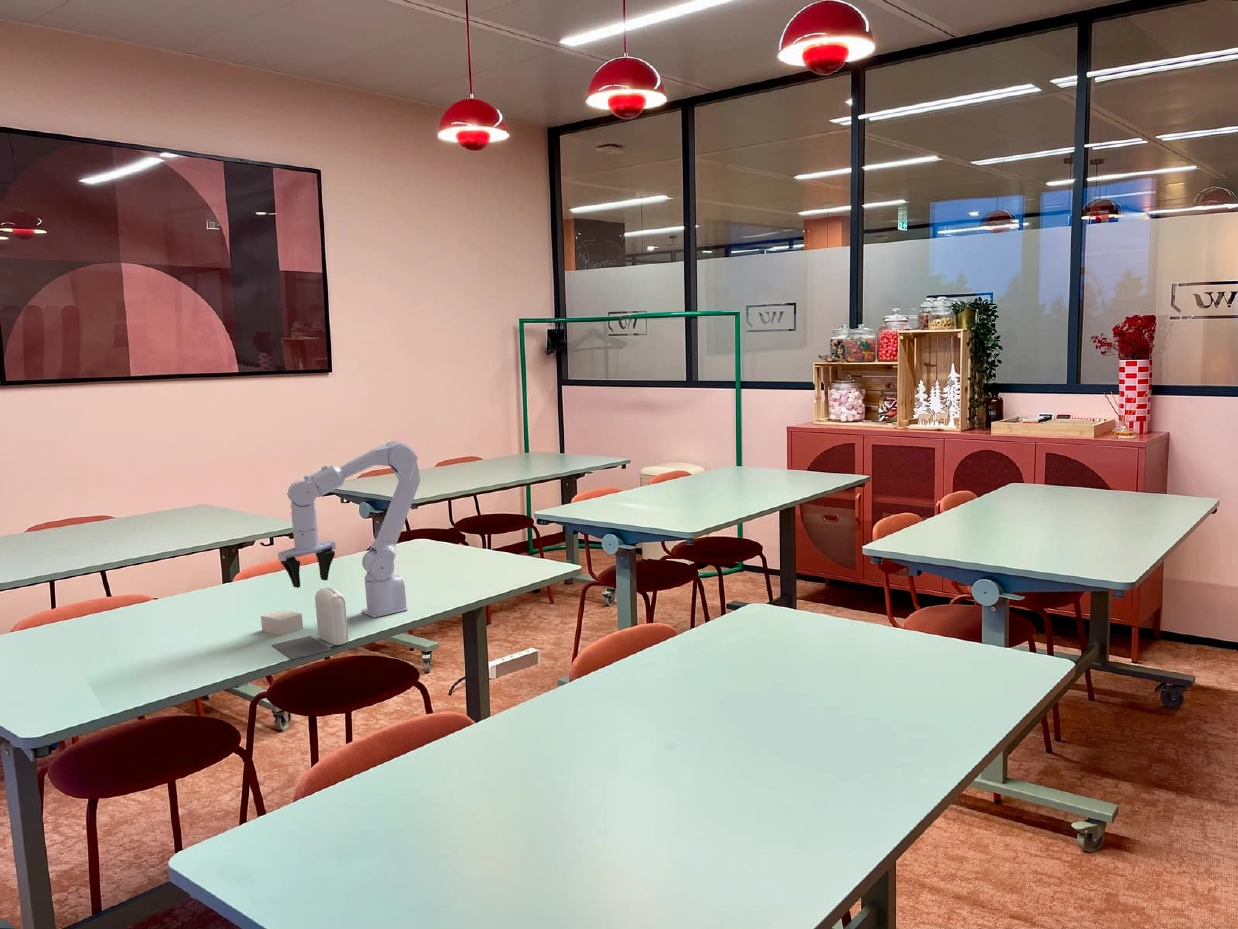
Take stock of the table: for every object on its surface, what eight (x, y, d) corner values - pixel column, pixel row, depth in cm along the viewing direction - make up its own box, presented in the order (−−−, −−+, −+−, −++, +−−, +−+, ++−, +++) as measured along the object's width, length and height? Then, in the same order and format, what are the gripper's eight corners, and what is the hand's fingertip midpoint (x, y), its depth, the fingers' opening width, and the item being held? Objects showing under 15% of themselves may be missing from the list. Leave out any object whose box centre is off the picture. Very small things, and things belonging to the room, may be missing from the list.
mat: (310, 636, 217) (310, 635, 217) (331, 650, 206) (331, 649, 206) (271, 645, 212) (271, 644, 212) (291, 659, 201) (291, 659, 201)
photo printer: (316, 637, 216) (311, 586, 215) (333, 633, 219) (329, 583, 217) (333, 647, 208) (328, 594, 207) (351, 643, 211) (346, 590, 209)
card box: (283, 625, 229) (282, 609, 228) (303, 629, 224) (301, 613, 224) (262, 631, 224) (260, 615, 224) (281, 636, 220) (280, 620, 219)
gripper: (322, 522, 233) (327, 574, 235) (269, 533, 222) (275, 588, 224) (338, 525, 229) (343, 578, 230) (284, 536, 218) (290, 591, 219)
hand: (310, 583), depth 227 cm, fingers open, 7 cm apart
